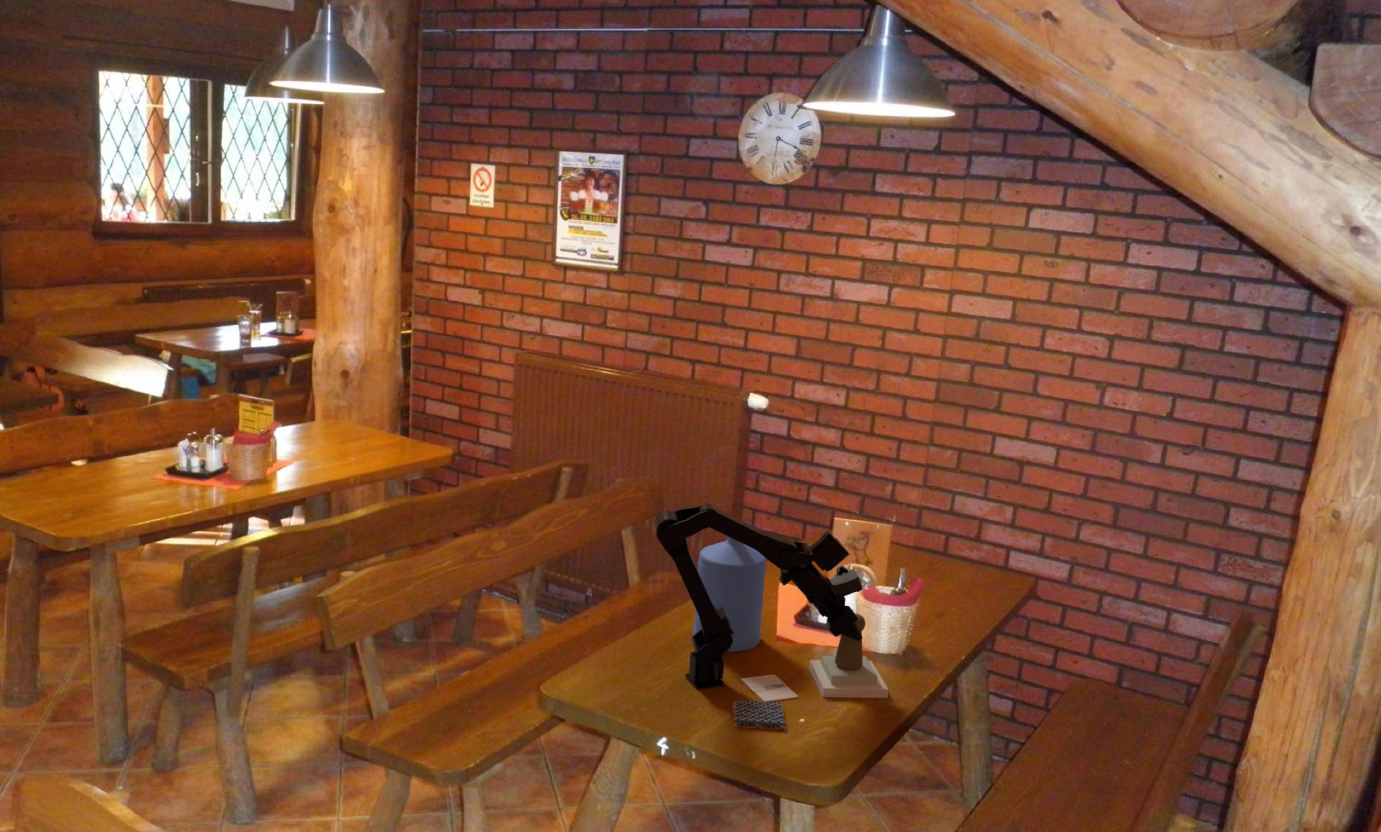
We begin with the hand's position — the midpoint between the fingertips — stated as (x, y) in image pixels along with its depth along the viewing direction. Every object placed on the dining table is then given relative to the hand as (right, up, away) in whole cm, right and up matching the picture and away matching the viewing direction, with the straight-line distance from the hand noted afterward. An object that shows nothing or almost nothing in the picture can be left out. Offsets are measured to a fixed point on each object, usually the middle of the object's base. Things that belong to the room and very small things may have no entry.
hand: (857, 634), depth 253 cm
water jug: (-28, -5, +21) cm, 35 cm away
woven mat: (-22, -14, -16) cm, 31 cm away
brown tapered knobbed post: (-2, -7, +1) cm, 7 cm away
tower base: (-2, -11, +2) cm, 11 cm away
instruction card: (-19, -11, -3) cm, 22 cm away
